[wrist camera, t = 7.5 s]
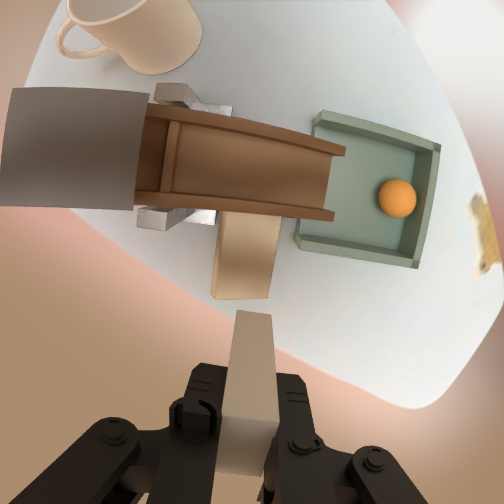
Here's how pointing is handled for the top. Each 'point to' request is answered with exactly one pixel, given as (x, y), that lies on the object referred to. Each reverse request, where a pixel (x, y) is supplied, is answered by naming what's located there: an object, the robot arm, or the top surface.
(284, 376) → the robot arm
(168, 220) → the stand
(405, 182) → the ball
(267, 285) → the lever
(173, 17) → the mug
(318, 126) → the tray
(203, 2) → the top surface
